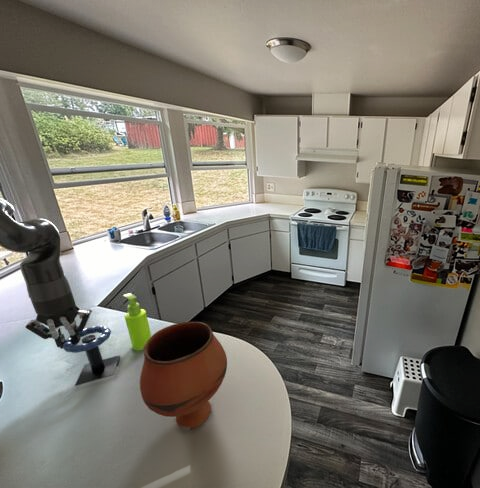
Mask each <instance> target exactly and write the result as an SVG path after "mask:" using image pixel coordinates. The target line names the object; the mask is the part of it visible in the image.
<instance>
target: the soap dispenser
mask: <svg viewBox="0 0 480 488" xmlns="http://www.w3.org/2000/svg"><path fill="white" fill-rule="evenodd" d="M122 297H123V298H125V299H127V300H128V305H126V306H127V307H126V310H127V313H126V314H125V315H124V320H125V324H126V329H127V331H128V335H129V339H130V343H131V346H132V349H133V350H134V351H144V346H145V344H146V343H147V341H148V340H149V339H150V338H151V337H152V332H151V328H150V325H149V320H148V315H147V311H146V309H143V308H141V306H140V303H139V302H136V300H137V296H136V295H135V294H133V293H130V292H128V293H125V294H123V295H122Z"/></svg>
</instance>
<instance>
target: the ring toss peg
mask: <svg viewBox="0 0 480 488" xmlns="http://www.w3.org/2000/svg"><path fill="white" fill-rule="evenodd" d="M96 339H97V337H96V335H94V334H88V335H86V336H83V337H82V339H81V343H82V344H86V343H89V342H91V341H94V340H96ZM99 346H100V345H99ZM99 346H97V347H95V348H93V349H90V350H87V351H84V352H85V355H86V357H87V361H88V363H84V365H83V368H82V370H81V371H80V373H79V376H78V378H77V380H76V381H75V384H74V387H76V386H79V385H83V384H87V383H90V382H94V381H98V380H100V379H104V378H108V377H111V376H114V375H115V371H116V368H117V367H118V366H119V363H120V361H121V355H115V356H110V357H108V358H103V356H102V352H101V349H100V347H99Z"/></svg>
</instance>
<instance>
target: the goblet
mask: <svg viewBox="0 0 480 488" xmlns="http://www.w3.org/2000/svg"><path fill="white" fill-rule="evenodd" d="M143 356H144V361H143V364H142V367H141V372H140V375H139V376H140V377H139V391H140V395H141V398H142V401H143V403H144V404H145V405H146V407H147V408H148V409H149V410H150V411H151V412H153V413H155V414H157V415H159V416H162V417H171V418H173V417H175V422H176V424H177V425H179V426H180V427H183V428H189V427H190V430H193V429H195V428H197V427H199V426H202V425H203V423H205V421H206V420H207V419H208V417H209V416H210V415H211V410H212V406H211V402H210V400H211V399H213V396H215V394H216V393H217V392H218V390H219V389H220V388H221V386H222V384H223V381H224V379H225V376H226V374H227V369H228V357H227V353H226V350H225V349H224V346H223V345H222V344H221V342H220V341H219V339H218V338H217V337H216V336H215V334H214V332H213V329H212V328H211V327H210V326H209V324H208V323H205V322H201V321H183V322H178V323H174V324H170V325H168V326H165V327H163V328H161V329H159V330H157V331H156V332H155V333H153V334H151V338H150V339H149V340H148V341H147V343H146V344H145V346H144V349H143Z"/></svg>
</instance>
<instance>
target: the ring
mask: <svg viewBox="0 0 480 488" xmlns="http://www.w3.org/2000/svg"><path fill="white" fill-rule="evenodd" d="M96 333H97V334H101V335H100V336H99V337H96V340H94V341H91V342H89V343H86V344H83V343H82V344H77V345H74V344H73V343H72V342H71V339H70V336H68V337H67V338H65V339H66V341H65V342H64V344H63V350H64V351H65V352H66V353H71V354H73V353H75V354H78V353H82V352H83V353H84V352H85V351H87V350H90V349H93V348H95V347H97V346H101V345H102V344H103V343H105V342H106V341H108V340H109V339H110V336H111V334H112V330H111V329H110V328H109V327H108V326H105V325H95V326H90V327H86V328H84V329H83V331H82V332H79V335H80V338H84V337H86V336H89V335H94V334H96Z"/></svg>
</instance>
